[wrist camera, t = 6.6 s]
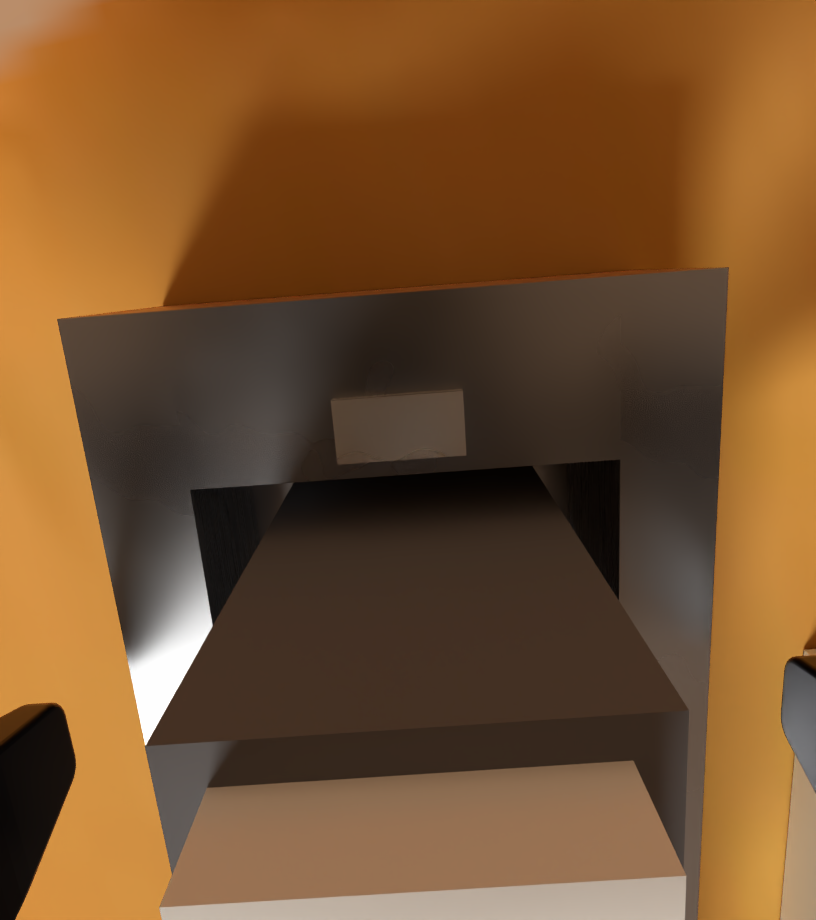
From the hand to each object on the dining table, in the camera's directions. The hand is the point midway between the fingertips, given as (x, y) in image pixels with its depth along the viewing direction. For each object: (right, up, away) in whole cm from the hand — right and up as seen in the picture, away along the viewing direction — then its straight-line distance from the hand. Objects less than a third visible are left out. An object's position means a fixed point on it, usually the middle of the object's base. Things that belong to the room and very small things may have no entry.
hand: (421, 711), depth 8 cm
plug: (0, +1, +4) cm, 4 cm away
